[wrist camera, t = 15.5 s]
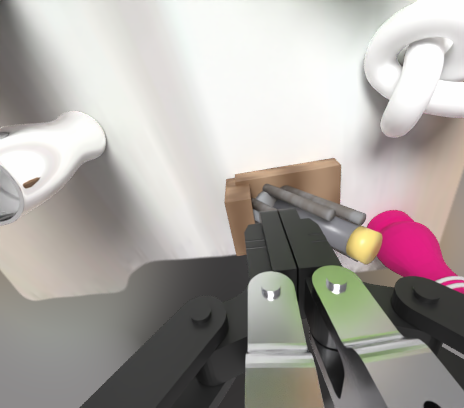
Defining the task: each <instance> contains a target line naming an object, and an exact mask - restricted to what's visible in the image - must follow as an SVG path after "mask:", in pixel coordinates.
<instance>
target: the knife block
mask: <svg viewBox="0 0 464 408" xmlns="http://www.w3.org/2000/svg"><path fill="white" fill-rule="evenodd" d="M340 182H341V165H340V164H339V163H338V162H337V161H336V160H335V158H331V159H325V160H319V161H313V162H307V163H301V164H295V165H289V166H283V167H277V168H271V169H265V170H259V171H253V172H247V173H241V174H235V178H232V179H226V191H225V207H226V211H227V216H228V220H229V224H230V229H231V233H232V237H233V242H234V246H235V251H236V255H237V256H241V255H247V254H246V245H245V236H244V232H245V230H246V228H247V226H248V225H250V224H259V223H260V220H259V212H261V211H270V210H278V209H276V208H274V207H273V206H274V204H275V202H276V201H277V200H278V199H280V200H282V201H285V202H287V203H289V204H291V205H294V206H296V207H298V208H301V209H303V210H305V211H307V212H310V213H312V214H314V215H316V216H319V217H321V218H323V219H326V220H328V221H332V220H333V219H334V217H338V218H340V219H343V220H345V221H348V220H349V221H348V222H351V223H353V222H354V223H353V224H356V225H358V226H361V225H362V224H363V223H364V222H365V219H366V214H365V213H362V212H359V211H356V210H354V209H351V208H348V207H346V206H343V205H340ZM331 247H332V246H331ZM332 249H334V250H336V251H338V252H340V253H342V254H343V255H345V256H347V257H349V258H351V259H353V260H355V261H357V262H358V260H356V259H354V258H352V257H350V256H348V255H347V254H346V253H344V252H342V251H340V250H338V249H336V248H334V247H332Z"/></svg>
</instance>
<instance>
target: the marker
mask: <svg viewBox="0 0 464 408" xmlns="http://www.w3.org/2000/svg"><path fill="white" fill-rule="evenodd" d="M273 207H274V208H276V209H278V210H279V209H288V208H295V209H296V210H297V213H298V215H299V217H300V219H305V218H310V219H311V220H313V221H314V222H316V223H317V224H318V225H319V227H320V228H321V230H322V232H323V234H324V235H325V237H326V239H327V241H328V242H329V244H330V246H332V247H334V248H336V249H338V250H340V251H342V252H344V253H346V254H347V255H348V256H350V257H352V258H354V259H356V260H358V261H360V262H362V263H364V264H369V263H370V262H372V261H373V260H374V258H375V257H376V256H377V254H378V252H379V250H380V248H381V244H382V234H381V233H379V232H377V231H374V230H371V229H369V228H366V227H364V226H358V225H356V224H353V223H351V222H348V221H345V220H343V219H340V218H338V217H334V219H333V220H332V221H328V220H326V219H323V218H321V217H319V216H316V215H314V214H312V213H310V212H307V211H305V210H303V209H301V208H298V207H296V206H294V205H291V204H289V203H287V202H285V201H282V200H280V199H278V200H277V201H276V202H275V204H274V206H273Z"/></svg>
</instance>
